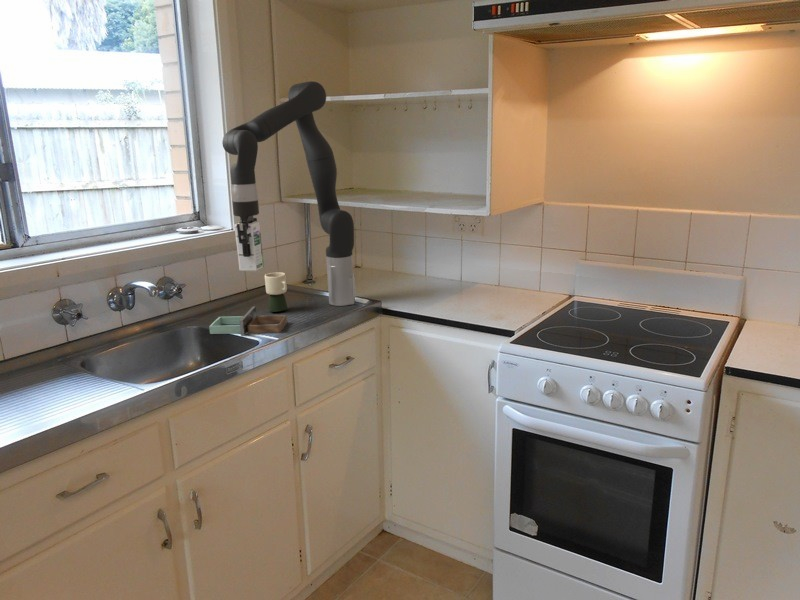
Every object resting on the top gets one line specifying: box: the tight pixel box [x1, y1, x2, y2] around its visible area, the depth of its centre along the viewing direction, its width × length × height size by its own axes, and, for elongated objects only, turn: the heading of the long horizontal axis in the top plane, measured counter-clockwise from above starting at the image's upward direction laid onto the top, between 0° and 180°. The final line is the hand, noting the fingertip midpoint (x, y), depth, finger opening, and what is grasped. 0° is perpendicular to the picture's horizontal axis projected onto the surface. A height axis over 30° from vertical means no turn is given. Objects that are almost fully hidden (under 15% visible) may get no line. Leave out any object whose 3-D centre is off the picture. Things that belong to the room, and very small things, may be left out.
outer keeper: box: [208, 315, 244, 335], centre depth 198 cm, size 10×10×2 cm
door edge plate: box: [239, 305, 258, 337], centre depth 198 cm, size 1×15×5 cm, turn 177°
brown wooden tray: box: [247, 315, 288, 334], centre depth 198 cm, size 10×10×2 cm
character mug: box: [264, 271, 288, 313], centre depth 214 cm, size 11×7×13 cm, turn 50°
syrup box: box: [233, 220, 265, 272], centre depth 191 cm, size 6×6×14 cm
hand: (250, 254), depth 192 cm, fingers closed on syrup box, 6 cm apart
